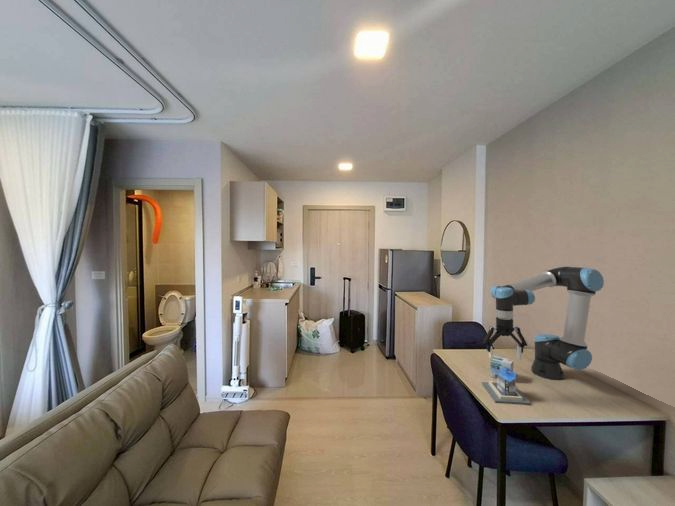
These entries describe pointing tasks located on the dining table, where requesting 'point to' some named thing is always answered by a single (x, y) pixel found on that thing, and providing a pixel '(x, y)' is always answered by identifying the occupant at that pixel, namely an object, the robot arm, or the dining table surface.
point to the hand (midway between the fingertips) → (504, 358)
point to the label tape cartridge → (507, 382)
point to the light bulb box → (500, 365)
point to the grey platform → (501, 397)
